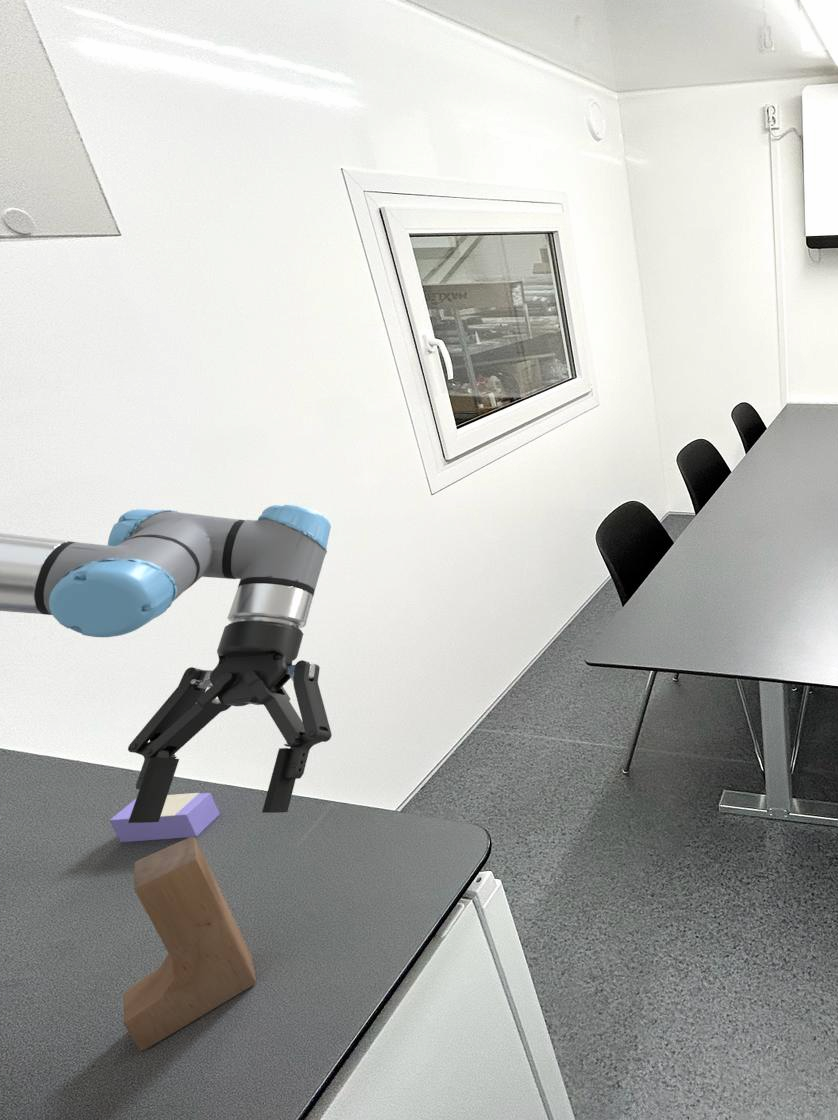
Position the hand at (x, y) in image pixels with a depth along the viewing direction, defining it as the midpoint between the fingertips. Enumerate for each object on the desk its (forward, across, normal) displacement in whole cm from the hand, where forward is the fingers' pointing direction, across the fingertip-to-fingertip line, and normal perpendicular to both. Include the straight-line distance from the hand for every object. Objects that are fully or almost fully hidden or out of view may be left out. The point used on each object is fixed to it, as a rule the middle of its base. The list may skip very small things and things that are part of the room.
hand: (209, 817), depth 67 cm
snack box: (0, +24, -24) cm, 34 cm away
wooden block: (+18, 0, -6) cm, 19 cm away
